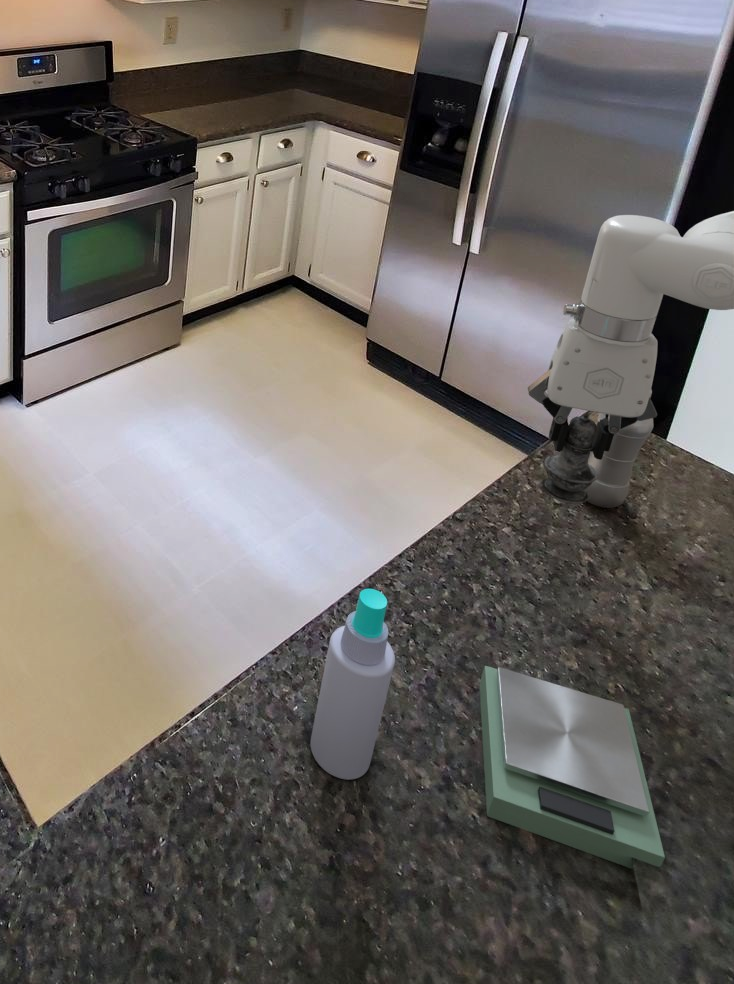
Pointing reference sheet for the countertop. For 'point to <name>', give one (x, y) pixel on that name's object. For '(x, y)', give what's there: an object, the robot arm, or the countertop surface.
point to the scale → (562, 800)
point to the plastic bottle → (617, 464)
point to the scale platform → (569, 740)
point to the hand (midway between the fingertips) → (576, 448)
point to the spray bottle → (353, 690)
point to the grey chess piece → (572, 464)
